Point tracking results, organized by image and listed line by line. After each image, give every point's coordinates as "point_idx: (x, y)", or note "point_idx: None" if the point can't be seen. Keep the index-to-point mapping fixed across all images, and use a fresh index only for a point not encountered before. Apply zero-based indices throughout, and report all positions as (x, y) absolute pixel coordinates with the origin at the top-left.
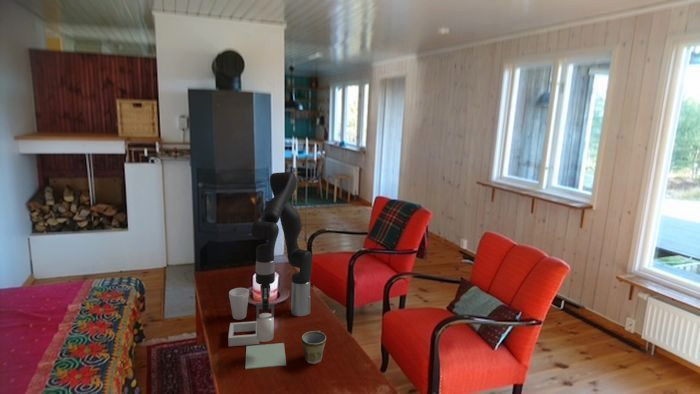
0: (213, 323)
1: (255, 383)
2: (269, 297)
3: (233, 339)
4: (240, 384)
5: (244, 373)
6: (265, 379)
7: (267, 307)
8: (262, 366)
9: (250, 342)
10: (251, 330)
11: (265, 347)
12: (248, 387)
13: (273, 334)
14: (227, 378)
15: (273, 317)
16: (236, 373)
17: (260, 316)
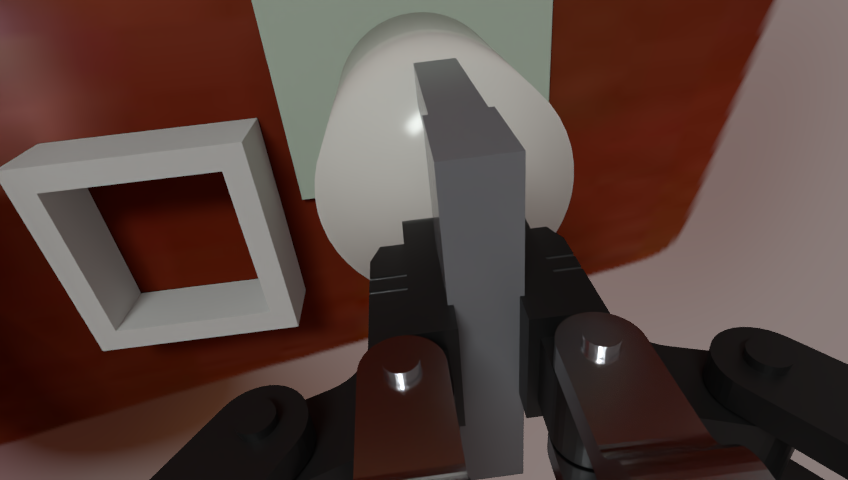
0: (69, 401)
1: (696, 90)
2: (756, 466)
3: (293, 293)
4: (676, 171)
5: (583, 165)
6: (678, 30)
7: (540, 261)
8: (547, 65)
9: (270, 183)
10: (87, 196)
11: (311, 68)
12: (717, 125)
13: (442, 19)
14: (605, 240)
15: (468, 66)
16: (572, 206)
17: None
